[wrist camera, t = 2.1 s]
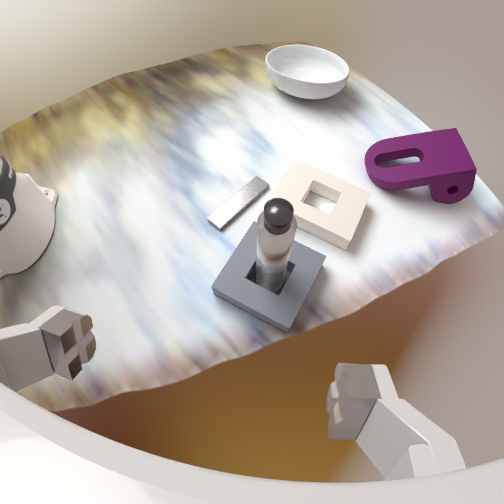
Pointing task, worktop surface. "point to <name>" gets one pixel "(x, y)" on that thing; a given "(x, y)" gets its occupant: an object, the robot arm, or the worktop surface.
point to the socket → (258, 298)
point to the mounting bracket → (425, 164)
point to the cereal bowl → (306, 71)
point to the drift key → (238, 203)
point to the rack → (344, 194)
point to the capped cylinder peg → (274, 242)
